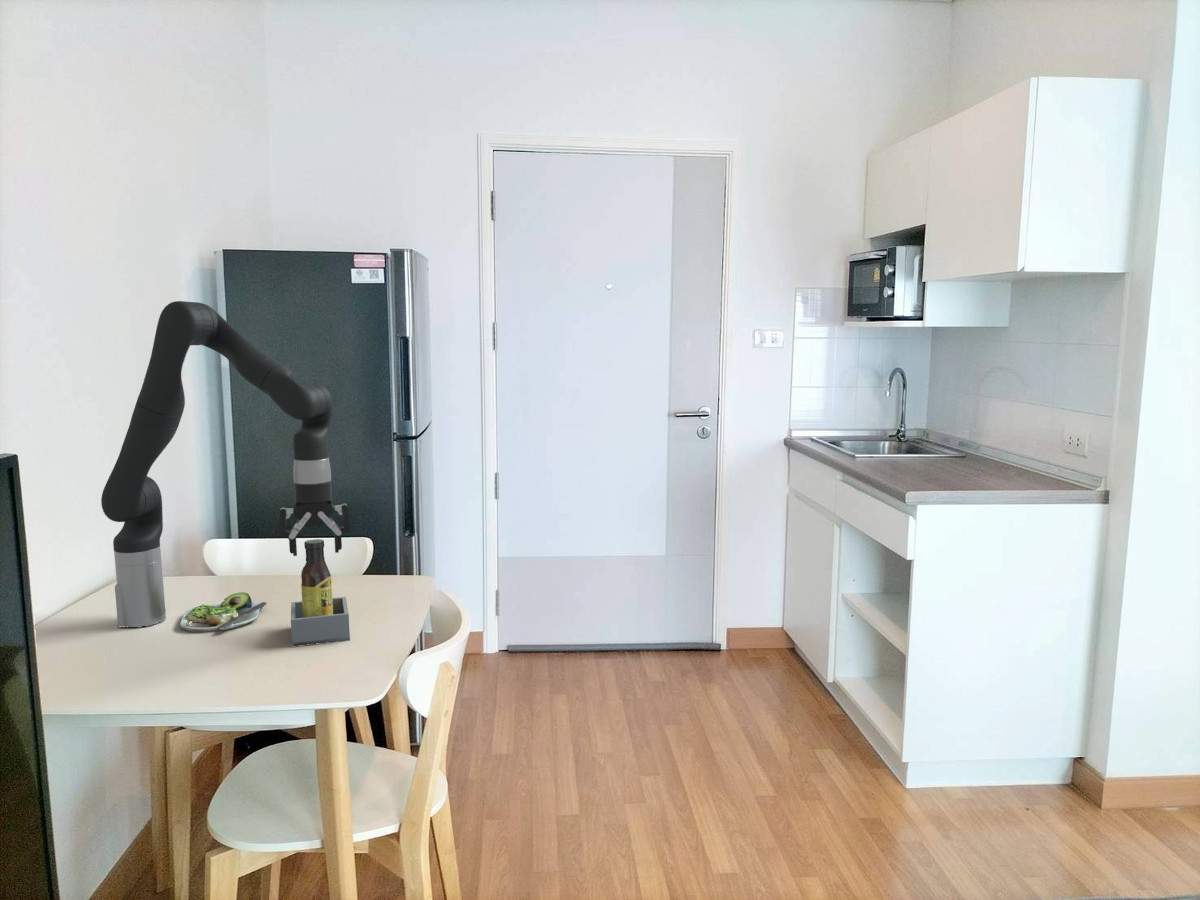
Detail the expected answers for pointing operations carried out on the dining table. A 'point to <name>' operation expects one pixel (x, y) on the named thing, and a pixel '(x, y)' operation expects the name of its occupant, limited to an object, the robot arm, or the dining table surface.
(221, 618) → the salad plate
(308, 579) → the sauce bottle
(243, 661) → the dining table surface
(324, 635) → the bottle caddy
